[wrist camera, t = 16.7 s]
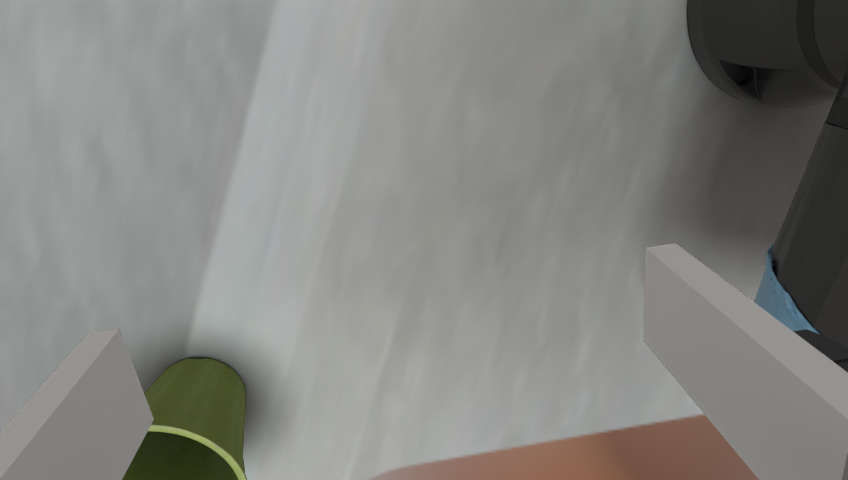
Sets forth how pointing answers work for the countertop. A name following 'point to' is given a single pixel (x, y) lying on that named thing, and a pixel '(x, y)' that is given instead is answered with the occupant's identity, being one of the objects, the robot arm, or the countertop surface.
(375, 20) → the countertop surface
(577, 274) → the countertop surface
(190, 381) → the plant pot
